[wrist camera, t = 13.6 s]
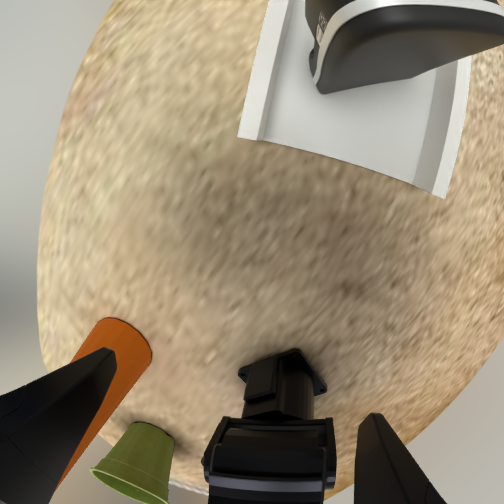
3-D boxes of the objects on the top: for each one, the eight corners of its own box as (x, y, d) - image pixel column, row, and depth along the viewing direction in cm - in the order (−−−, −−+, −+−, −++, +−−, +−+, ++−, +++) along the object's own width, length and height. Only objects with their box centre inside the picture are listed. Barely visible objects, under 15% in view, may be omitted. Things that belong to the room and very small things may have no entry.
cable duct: (418, 186, 17) (444, 199, 13) (249, 137, 17) (237, 136, 14) (446, 20, 11) (471, 4, 7) (289, -33, 12) (287, -62, 8)
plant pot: (200, 457, 35) (182, 514, 25) (139, 445, 38) (117, 494, 28) (172, 417, 31) (143, 487, 21) (105, 405, 34) (73, 459, 23)
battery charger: (394, 28, 12) (481, -53, 1) (415, 79, 13) (534, 39, 3) (294, 44, 14) (289, -70, 3) (315, 97, 15) (352, 32, 4)
